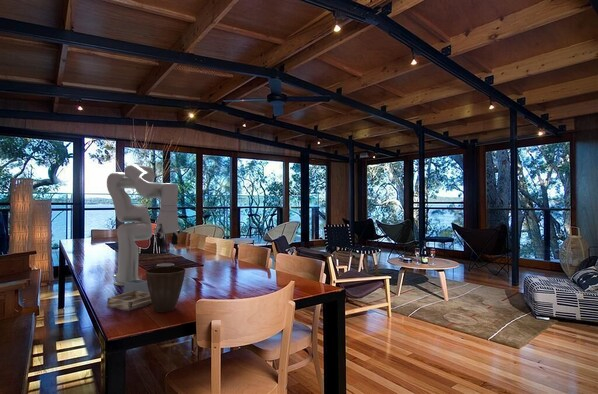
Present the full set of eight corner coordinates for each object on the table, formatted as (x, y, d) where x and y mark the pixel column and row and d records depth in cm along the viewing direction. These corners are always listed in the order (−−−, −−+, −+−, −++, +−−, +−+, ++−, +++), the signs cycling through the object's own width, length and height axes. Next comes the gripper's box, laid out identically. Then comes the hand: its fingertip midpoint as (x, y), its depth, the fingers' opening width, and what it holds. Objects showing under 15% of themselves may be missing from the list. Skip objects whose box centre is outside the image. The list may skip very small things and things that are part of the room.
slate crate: (123, 294, 154) (124, 281, 155) (134, 291, 160) (135, 279, 160) (137, 297, 152) (137, 283, 152) (147, 293, 157) (147, 281, 157)
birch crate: (107, 306, 137) (107, 298, 137) (134, 298, 149) (134, 290, 149) (129, 311, 132) (130, 302, 132) (155, 302, 145) (156, 294, 145)
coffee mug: (177, 282, 180) (177, 264, 180) (165, 286, 172) (166, 266, 172) (159, 280, 184) (160, 262, 184) (147, 284, 176) (148, 264, 176)
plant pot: (143, 317, 125) (145, 274, 126) (144, 305, 139) (146, 267, 139) (185, 313, 131) (187, 272, 132) (182, 302, 145) (183, 265, 145)
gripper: (174, 208, 168) (173, 243, 168) (148, 209, 152) (147, 246, 151) (187, 209, 166) (185, 244, 165) (161, 209, 149) (160, 248, 149)
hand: (167, 245), depth 158 cm, fingers open, 9 cm apart
